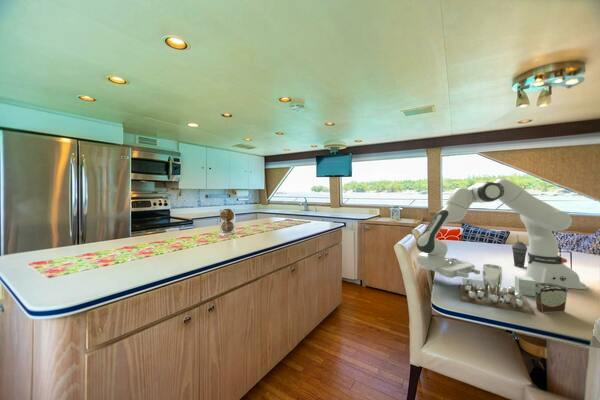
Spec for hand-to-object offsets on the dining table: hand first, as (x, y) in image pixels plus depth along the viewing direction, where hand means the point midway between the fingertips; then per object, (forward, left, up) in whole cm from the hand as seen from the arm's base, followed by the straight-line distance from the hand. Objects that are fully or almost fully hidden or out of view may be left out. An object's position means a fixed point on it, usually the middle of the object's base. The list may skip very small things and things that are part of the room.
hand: (473, 274), depth 117 cm
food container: (-24, +5, -9) cm, 26 cm away
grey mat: (-3, -13, -9) cm, 16 cm away
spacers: (-7, +4, -9) cm, 12 cm away
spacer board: (-7, +4, -9) cm, 12 cm away
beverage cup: (-28, -61, -9) cm, 67 cm away
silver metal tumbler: (-7, +4, -9) cm, 12 cm away
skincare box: (-21, -11, -9) cm, 25 cm away
